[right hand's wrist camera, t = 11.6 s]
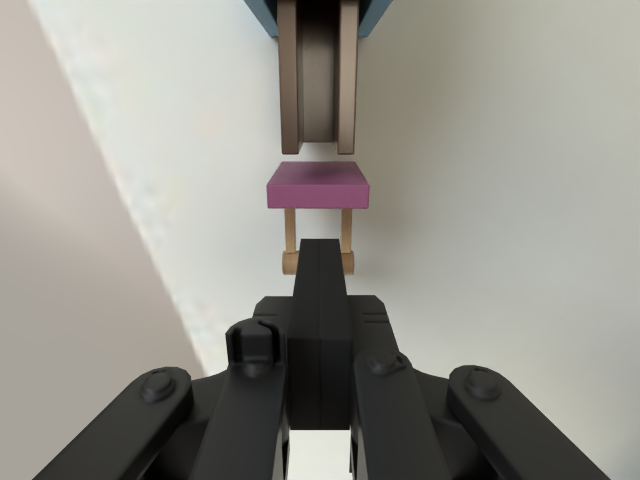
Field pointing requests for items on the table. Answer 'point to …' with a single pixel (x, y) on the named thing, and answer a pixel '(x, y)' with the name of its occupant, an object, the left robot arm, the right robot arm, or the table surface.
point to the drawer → (318, 116)
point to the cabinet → (370, 12)
